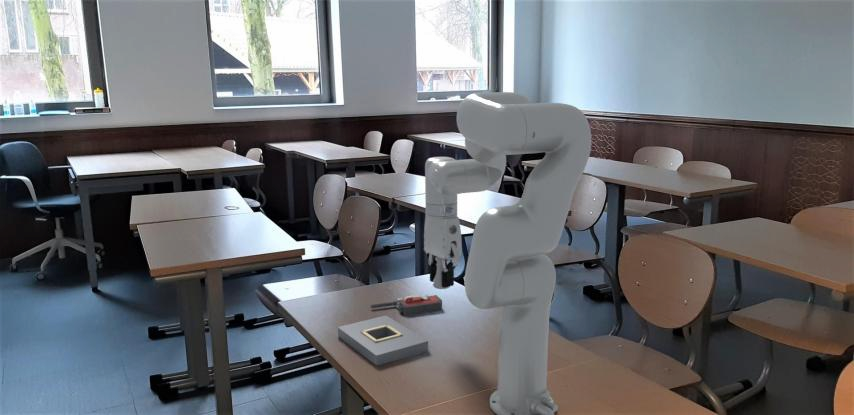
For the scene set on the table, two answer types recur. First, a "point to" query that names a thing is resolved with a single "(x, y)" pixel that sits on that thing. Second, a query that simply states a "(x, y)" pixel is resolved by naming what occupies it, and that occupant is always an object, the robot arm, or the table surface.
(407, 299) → the red gray switch box
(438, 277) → the rook chess piece
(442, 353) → the table surface
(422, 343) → the socket board
